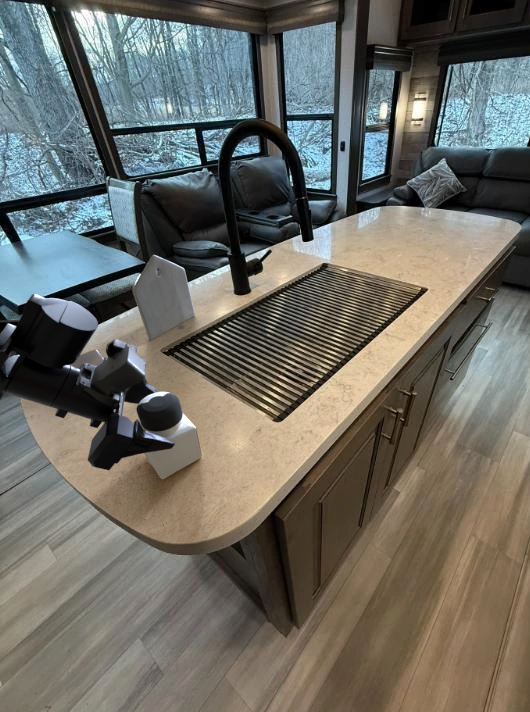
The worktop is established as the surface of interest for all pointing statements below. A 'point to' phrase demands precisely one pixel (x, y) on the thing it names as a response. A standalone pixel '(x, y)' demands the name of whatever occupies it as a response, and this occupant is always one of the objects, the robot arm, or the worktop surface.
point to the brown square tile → (88, 359)
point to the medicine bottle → (169, 432)
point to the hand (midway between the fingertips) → (172, 424)
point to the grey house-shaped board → (162, 296)
